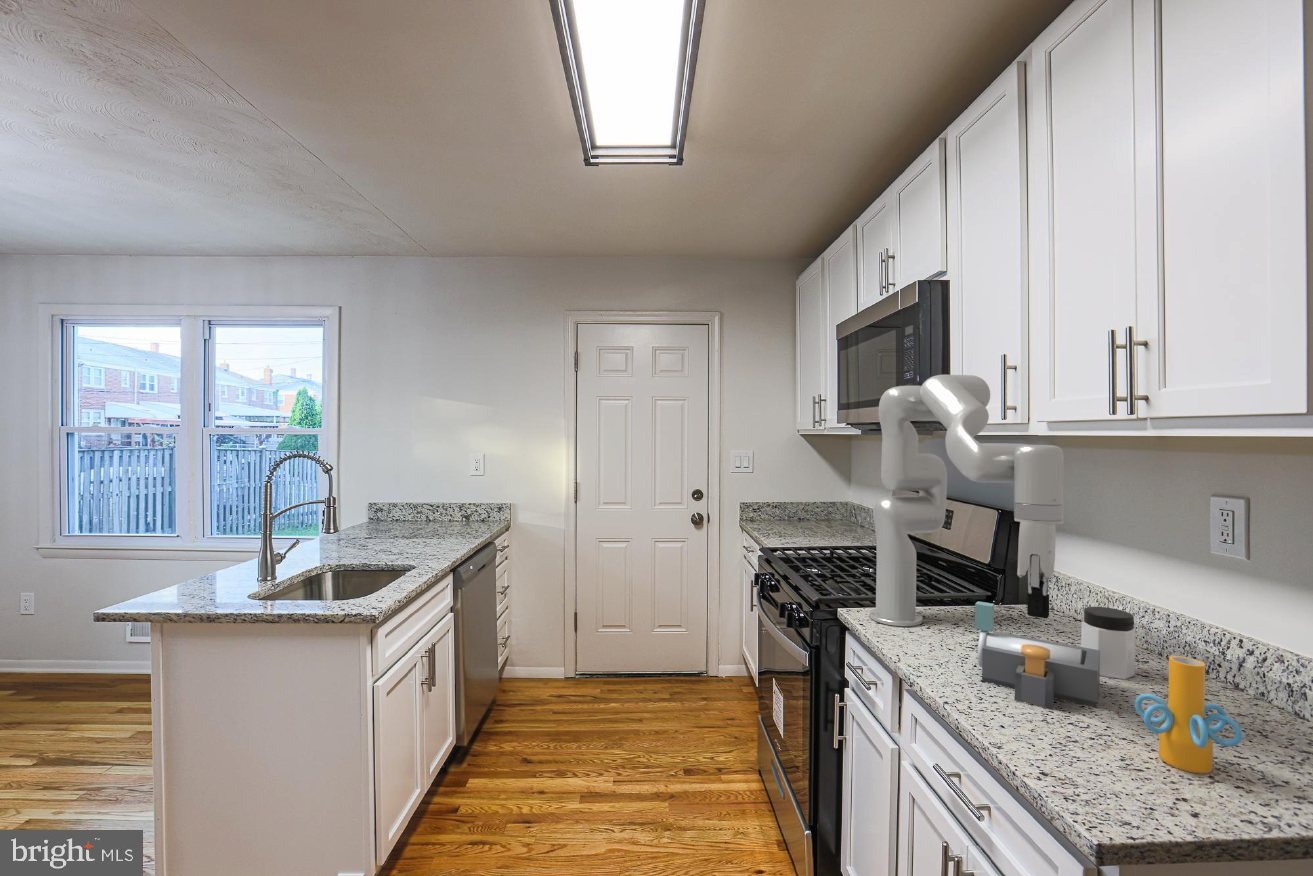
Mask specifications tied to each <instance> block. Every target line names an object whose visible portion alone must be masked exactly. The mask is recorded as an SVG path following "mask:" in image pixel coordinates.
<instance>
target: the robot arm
mask: <svg viewBox="0 0 1313 876" xmlns="http://www.w3.org/2000/svg"><path fill="white" fill-rule="evenodd" d="M990 400H991V390H990V387H989V385H988V383H987V382H986V380H984V379H983V378H982V377H979V376H977V375H973V374H970V375H969V374H937V375H934V376H931V377H928V378H927V379H925V381H924V382H923V383H922V385H899V386H893V387H890V388H889V389H887V390H886V391H884V393H883V394H882V395H881V397H880V400H879V403H878V419H879V424H880V428H881V429H880V430H881V436H882V437H881V439H882V442H881V459H880V460H881V462H880V463H881V465H880V466H881V467H880V477H881V484H882V485H883V486H884V488H885V489H888V490H890V491H900V492H904V491H905V492H918V493H919V495H889V496H884V497H880V498H879V499H878V500H877V501H875V502H874V505H873V509H872V517H873V523H874V529H875V537H876V538H875V541H876V545H875V546H876V552H875V553H876V555H875V556H876V565H875V566H876V575H875V577H876V578H875V579H876V580H875V581H876V582H875V608H873V609H871V610H870V611H869V614H868V615H869V618H870V619H871V620H873V621H875V622H878V623H880V624H884V625H888V626H894V627H914V626H919V625H922V623H923V617H922V615H920V614H919V613H917V611H916V609H917V608H916V607H917V551H916V547H915V545H914V544H913V541H911V539H910V537H909V534H926V533H928V534H930V533H937V532H938V531H940V530H941V529H942V528H943V526H944V524H945V520H946V508H947V494H948V493H947V492H948V471H947V466H946V465H945V462H944V461H943V459H942V457H939V456H938V455H936V454H934V453H919V435H918V432H917V430H916V429H915V427H914V425H913V424H912V423H911V421H917V422H918V421H923V422H933V421H934V422H940V424H942V426H943V427H944V428H945V429H946V433H945V439H944V441H945V442H944V443H945V451H946V454H947V456H948V459H949V460H950V461H951V463H952V464H953V465H954V466H955V468H956V469H957V470H958V471H959V473H960V474H962V475H963V476H964V477H965V478H967V479H968V480H970V481H972V482H975V483H981V484H983V483H988V484H989V483H1006V484H1008V483H1010V484H1011V483H1013V484H1014V485H1013V490H1014V491H1013V497H1014V498H1013V517H1014V518H1013V519H1014V521H1015V522H1019V531H1018V543H1017V545H1018V548H1017V549H1018V551H1017V572H1016V575H1017V576H1018V577H1019V578H1020V579H1021V578H1023V577H1024V576H1026V574H1027V587H1028V588H1027V589H1028V591H1027V593H1026V594H1027V596H1026V597H1027V598H1026V601H1027V604H1026V605H1027V607H1026V608H1027V609H1026V610H1027V615H1028V616H1029V617H1035V618H1042V619H1048V618H1049V617H1050V594H1049V580H1050V579H1051V578H1052V576H1053V574H1054V570H1055V560H1056V525H1063V524H1064V452H1063V450H1062V448H1061V447H1060V446H1057V445H1055V444H1054V445H1053V444H1026V443H1007V442H1004V443H999V442H997V443H996V442H995V443H994V442H991V443H989V442H986V443H985V442H984V443H983V442H982V443H981V442H979V441H977V440H976V439H975V438H974V437H976V436H978V435H979V434H980V433H981V432H982V431H983V430H984V429H985V428H986V426H987V424H988V422H989V419H990V416H989V411H988V409H987V408H986V407H987V406H988V405H989V404H990Z"/></svg>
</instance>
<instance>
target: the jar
mask: <svg viewBox="0 0 1313 876" xmlns="http://www.w3.org/2000/svg"><path fill="white" fill-rule="evenodd" d="M1134 617H1135V616H1134V615H1133V613H1130V612H1128V611H1125V610H1121V609H1117V608H1111V607H1104V606H1087V607H1085V608H1084V609H1083V621H1081V627H1080V628H1081V629H1080V630H1081V634H1080V635H1081V637H1080V641H1081V642H1080V643H1081V644H1080V647H1084V648H1090V649H1095V650H1100V677H1104V678H1111V679H1112V678H1113V679H1117V680H1118V679H1119V680H1124V681H1125V680H1128V679H1130V678H1131V677H1133V676H1135V675H1136V643H1137V638H1136V637H1137V634H1136V633H1137V629H1136V627H1134V626H1135V620H1134V619H1135V618H1134Z"/></svg>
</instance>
